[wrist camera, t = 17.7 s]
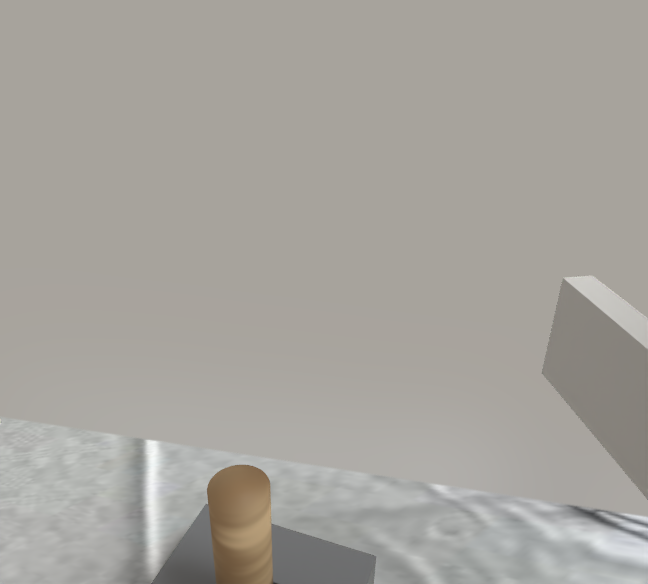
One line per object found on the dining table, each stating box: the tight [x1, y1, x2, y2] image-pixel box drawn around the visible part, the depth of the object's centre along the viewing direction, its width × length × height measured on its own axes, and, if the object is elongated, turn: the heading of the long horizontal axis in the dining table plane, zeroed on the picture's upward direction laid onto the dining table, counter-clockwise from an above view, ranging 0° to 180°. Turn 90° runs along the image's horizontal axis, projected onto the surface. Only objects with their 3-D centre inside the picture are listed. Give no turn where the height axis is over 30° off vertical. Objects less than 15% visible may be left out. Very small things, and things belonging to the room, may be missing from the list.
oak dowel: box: [207, 465, 273, 584], centre depth 37 cm, size 4×4×15 cm
